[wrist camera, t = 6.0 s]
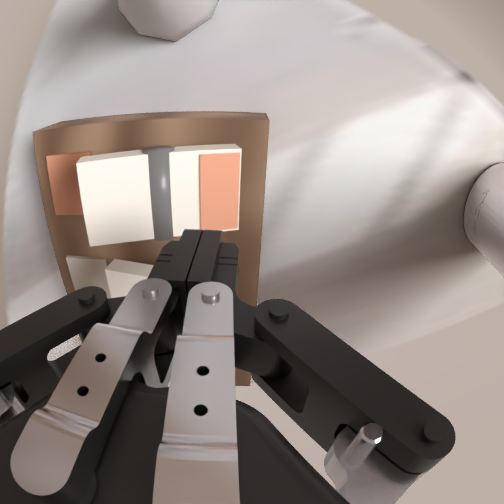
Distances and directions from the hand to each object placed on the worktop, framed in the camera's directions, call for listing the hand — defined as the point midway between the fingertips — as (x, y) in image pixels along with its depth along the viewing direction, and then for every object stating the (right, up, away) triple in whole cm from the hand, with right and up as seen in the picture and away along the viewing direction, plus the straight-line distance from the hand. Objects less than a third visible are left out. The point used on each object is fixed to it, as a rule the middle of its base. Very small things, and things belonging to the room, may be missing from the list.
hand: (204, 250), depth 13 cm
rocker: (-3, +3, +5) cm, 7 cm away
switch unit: (-6, -1, +14) cm, 15 cm away
